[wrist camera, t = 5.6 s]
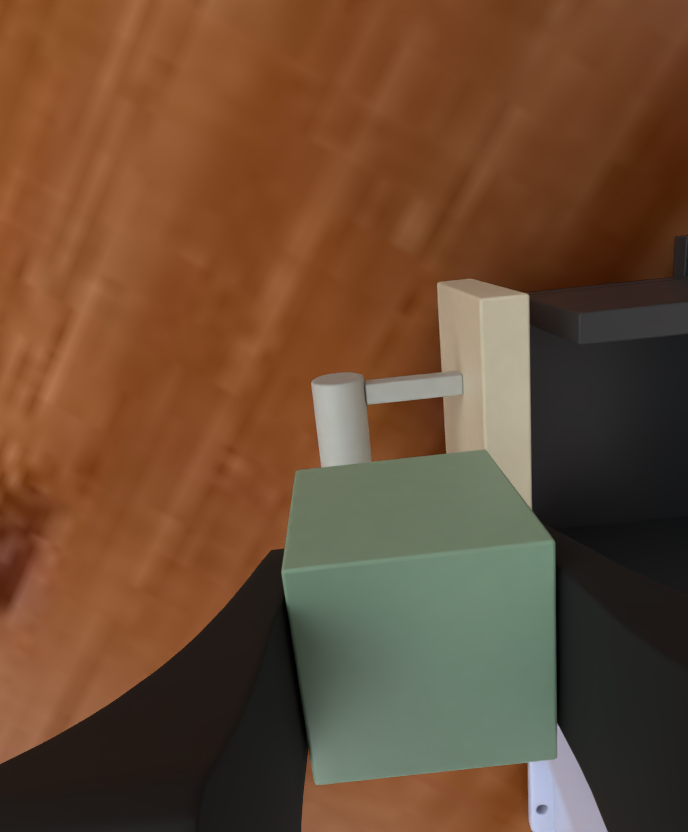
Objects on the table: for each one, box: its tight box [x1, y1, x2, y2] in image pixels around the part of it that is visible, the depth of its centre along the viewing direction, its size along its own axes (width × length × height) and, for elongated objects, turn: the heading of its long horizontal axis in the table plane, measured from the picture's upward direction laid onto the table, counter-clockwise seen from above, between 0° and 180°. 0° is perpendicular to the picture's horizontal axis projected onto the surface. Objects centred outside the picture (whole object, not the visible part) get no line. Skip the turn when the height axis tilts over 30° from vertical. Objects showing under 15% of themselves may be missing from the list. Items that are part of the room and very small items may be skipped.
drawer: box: [311, 276, 688, 595], centre depth 18 cm, size 17×10×6 cm, turn 96°
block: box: [281, 450, 557, 785], centre depth 11 cm, size 4×4×4 cm
